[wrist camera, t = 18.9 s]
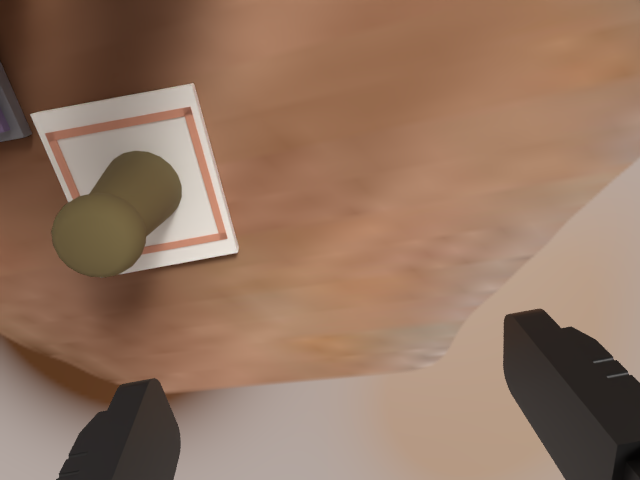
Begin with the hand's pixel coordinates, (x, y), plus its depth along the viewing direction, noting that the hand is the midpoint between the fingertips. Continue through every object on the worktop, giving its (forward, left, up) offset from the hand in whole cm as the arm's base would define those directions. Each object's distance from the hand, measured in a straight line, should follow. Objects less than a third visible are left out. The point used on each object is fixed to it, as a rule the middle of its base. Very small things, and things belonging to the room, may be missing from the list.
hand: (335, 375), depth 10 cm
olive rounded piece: (+2, -13, -27) cm, 30 cm away
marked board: (+2, -13, -28) cm, 31 cm away
